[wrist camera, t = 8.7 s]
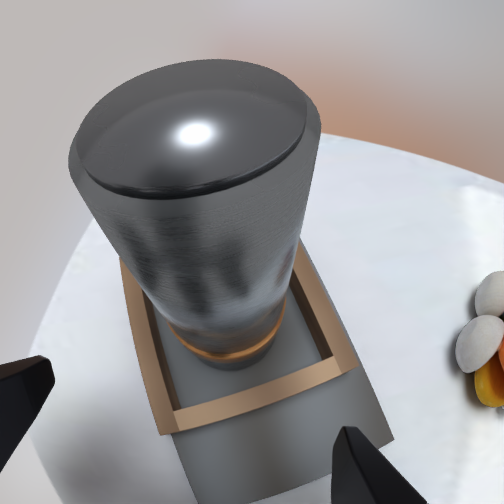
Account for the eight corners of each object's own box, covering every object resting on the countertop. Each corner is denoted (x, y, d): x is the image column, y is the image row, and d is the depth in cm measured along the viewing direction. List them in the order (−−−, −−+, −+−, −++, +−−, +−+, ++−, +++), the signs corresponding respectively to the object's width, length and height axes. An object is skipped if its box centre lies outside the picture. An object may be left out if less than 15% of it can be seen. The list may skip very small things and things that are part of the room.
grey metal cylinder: (209, 390, 15) (74, 272, 3) (167, 306, 17) (57, 104, 6) (297, 342, 16) (387, 138, 5) (248, 266, 19) (243, 41, 7)
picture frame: (204, 512, 11) (196, 526, 9) (132, 276, 19) (119, 257, 16) (391, 439, 13) (411, 440, 11) (292, 228, 21) (296, 204, 18)
